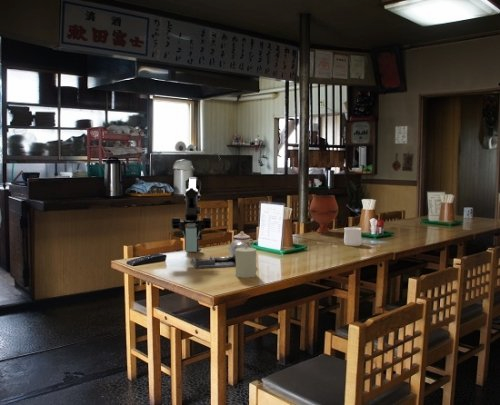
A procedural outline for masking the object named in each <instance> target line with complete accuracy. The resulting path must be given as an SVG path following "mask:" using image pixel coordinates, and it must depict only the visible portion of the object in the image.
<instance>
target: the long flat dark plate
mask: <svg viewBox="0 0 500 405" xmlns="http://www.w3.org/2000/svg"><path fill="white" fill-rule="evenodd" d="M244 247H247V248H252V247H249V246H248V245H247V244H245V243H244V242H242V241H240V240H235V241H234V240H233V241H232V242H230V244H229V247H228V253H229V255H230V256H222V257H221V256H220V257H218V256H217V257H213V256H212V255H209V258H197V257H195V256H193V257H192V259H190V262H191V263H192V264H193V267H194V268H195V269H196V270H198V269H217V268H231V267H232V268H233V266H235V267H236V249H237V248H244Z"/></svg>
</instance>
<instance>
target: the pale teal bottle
mask: <svg viewBox="0 0 500 405" xmlns="http://www.w3.org/2000/svg"><path fill="white" fill-rule="evenodd" d="M185 229H186V238H185V252H190V253H191V252H193V253H197V227H195V223H187V225H186V226H185Z"/></svg>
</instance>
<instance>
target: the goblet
mask: <svg viewBox="0 0 500 405" xmlns="http://www.w3.org/2000/svg"><path fill="white" fill-rule="evenodd" d="M309 214H310V216H311V218H312V219H313V220H314V221H315V222H317V223H319V224H318V225H319V227H318V229H317V230H316V233H323V234H326V233H330V229H329V228H328V226H329V224H330V223H332V222H333V221H334V220H335V219H336V218H337V217H338V214H339V205H338V203H337V199H336V197H335V195H330V194H329V195H328V194H326V195H325V194H316V195H315V194H314V195H313V198H312V200H311V201H310V207H309Z"/></svg>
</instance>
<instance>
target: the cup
mask: <svg viewBox="0 0 500 405" xmlns="http://www.w3.org/2000/svg"><path fill="white" fill-rule="evenodd" d="M343 231H344V234H343V235H344V236H343V243H344V245H345V246H348V247H349V246H350V247H359V246H361V244H362V228H361V227H356V226H355V227H353V226H351V227H350V226H348V227H344V228H343Z"/></svg>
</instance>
